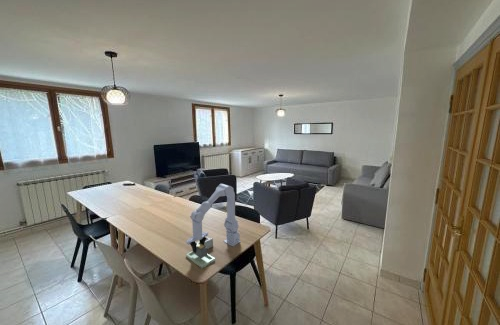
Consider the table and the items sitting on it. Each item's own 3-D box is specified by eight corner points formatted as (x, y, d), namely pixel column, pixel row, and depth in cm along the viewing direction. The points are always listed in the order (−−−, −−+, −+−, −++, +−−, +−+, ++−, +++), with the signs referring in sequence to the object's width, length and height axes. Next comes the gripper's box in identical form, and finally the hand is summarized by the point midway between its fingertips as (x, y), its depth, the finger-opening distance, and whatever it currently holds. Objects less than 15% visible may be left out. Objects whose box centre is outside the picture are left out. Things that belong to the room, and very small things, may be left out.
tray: (215, 260, 123) (214, 258, 123) (202, 268, 116) (201, 266, 116) (198, 250, 134) (198, 247, 134) (186, 256, 127) (185, 254, 127)
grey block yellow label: (207, 255, 124) (207, 246, 123) (200, 258, 120) (200, 250, 119) (198, 249, 130) (198, 241, 129) (192, 252, 126) (192, 244, 125)
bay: (212, 246, 139) (212, 238, 138) (203, 251, 133) (203, 243, 132) (207, 243, 143) (207, 235, 142) (198, 247, 137) (197, 239, 136)
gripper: (203, 224, 132) (203, 243, 134) (183, 232, 121) (184, 252, 123) (209, 227, 127) (210, 247, 129) (189, 236, 116) (190, 257, 118)
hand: (198, 250), depth 126 cm, fingers closed on grey block yellow label, 5 cm apart
